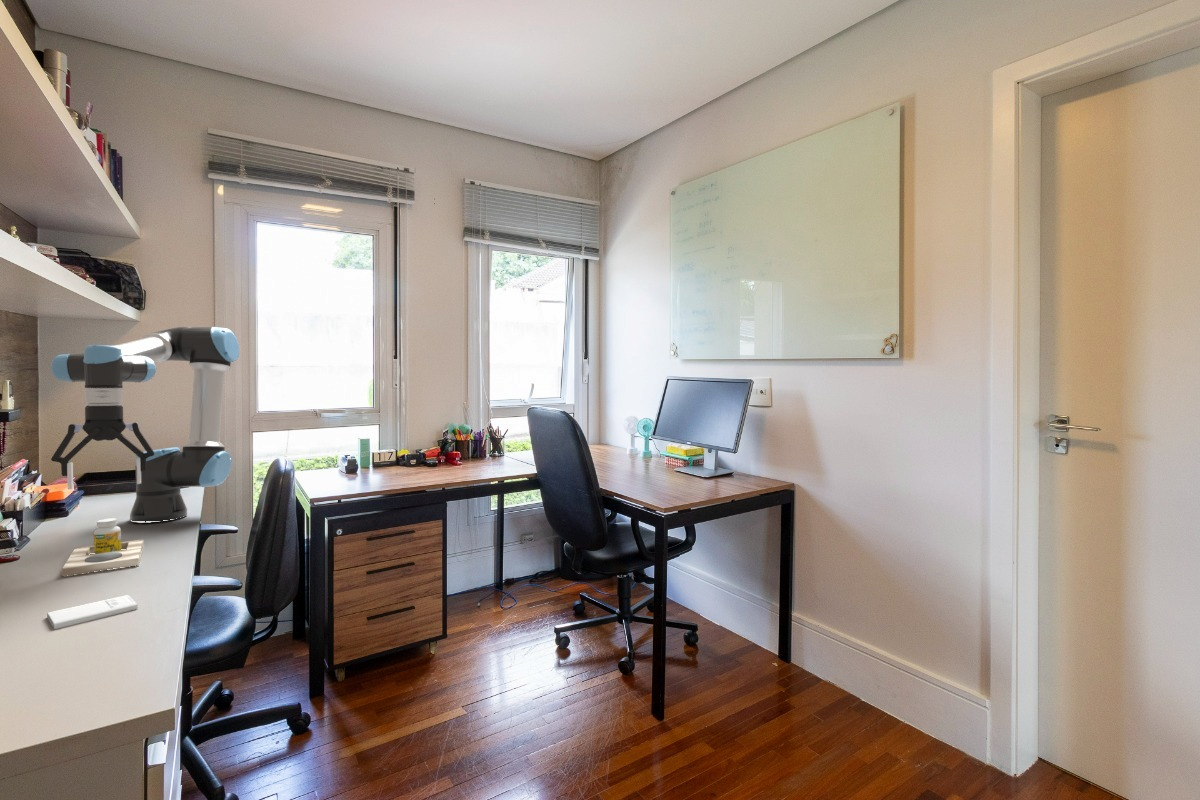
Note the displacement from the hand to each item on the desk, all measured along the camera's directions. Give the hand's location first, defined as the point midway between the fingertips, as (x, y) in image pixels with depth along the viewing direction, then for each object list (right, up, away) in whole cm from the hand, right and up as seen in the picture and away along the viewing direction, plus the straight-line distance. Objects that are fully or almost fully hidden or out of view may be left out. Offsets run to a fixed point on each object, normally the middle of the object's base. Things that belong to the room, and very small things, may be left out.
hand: (105, 486), depth 149 cm
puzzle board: (+3, -19, -3) cm, 19 cm away
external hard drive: (+28, -21, -35) cm, 49 cm away
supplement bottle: (0, -19, +1) cm, 19 cm away
